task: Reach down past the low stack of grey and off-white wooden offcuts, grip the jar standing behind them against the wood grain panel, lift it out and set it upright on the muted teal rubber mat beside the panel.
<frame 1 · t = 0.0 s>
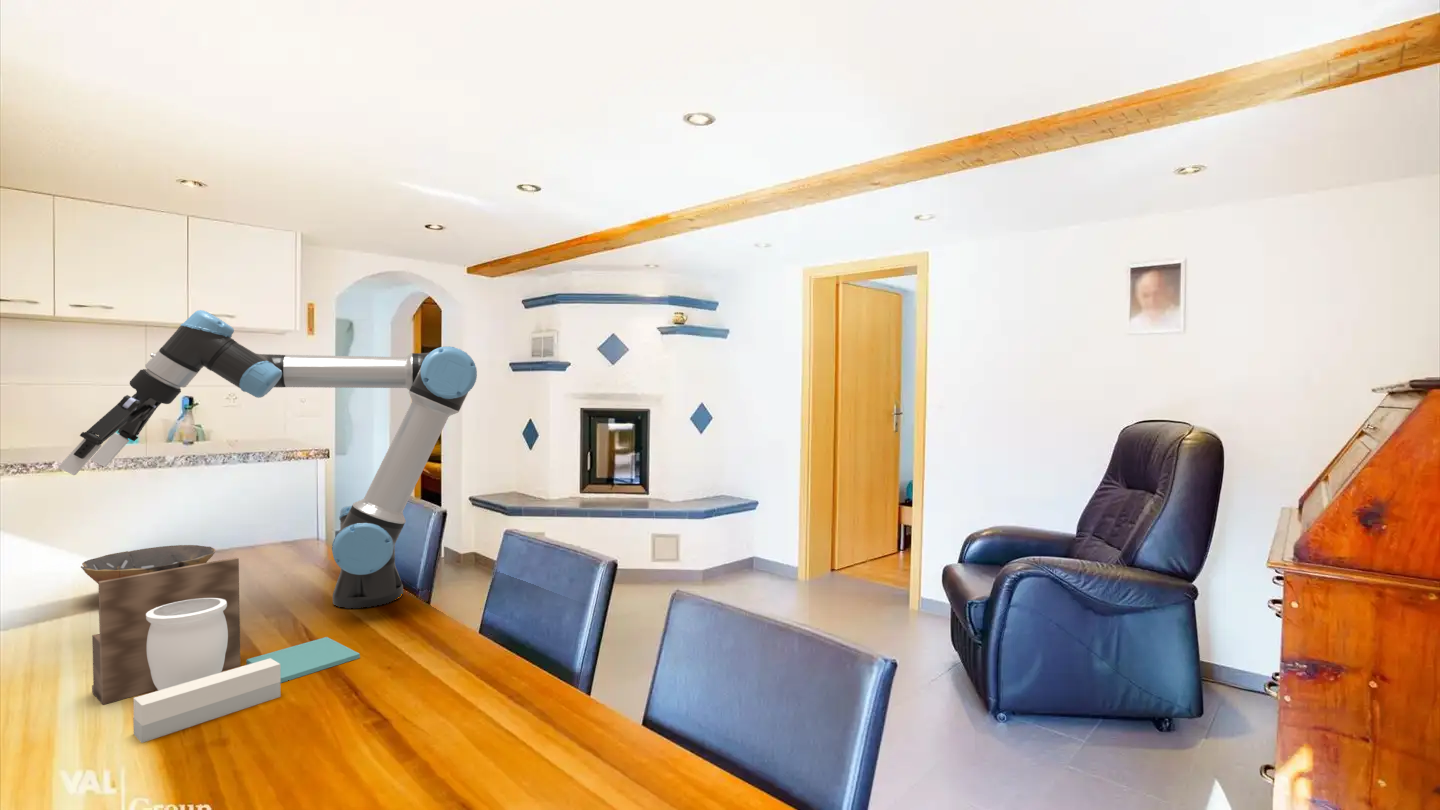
hand: (83, 467, 128), 36 cm above the table, tool tilted 35°, fingers open, 13 cm apart
bowl: (151, 596, 163), on the table
offcut top: (211, 698, 105), point 2 cm above the table, touching offcut low
mat: (303, 660, 125), on the table
wood grain panel: (190, 696, 111), on the table
jar: (189, 696, 111), on the table
offcut low: (211, 717, 105), on the table, touching offcut top
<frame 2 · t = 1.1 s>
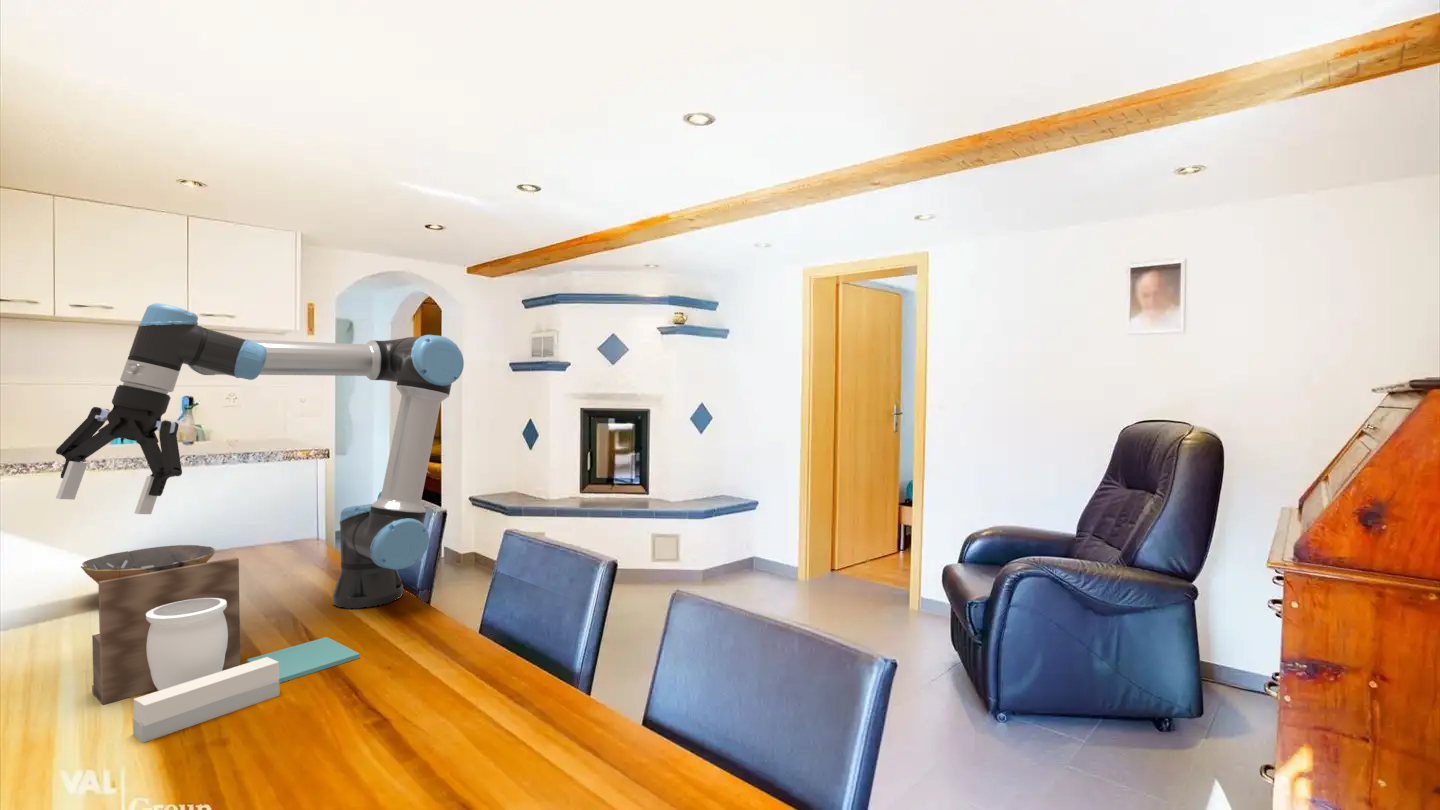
hand: (103, 506, 115), 31 cm above the table, tool tilted 15°, fingers open, 13 cm apart
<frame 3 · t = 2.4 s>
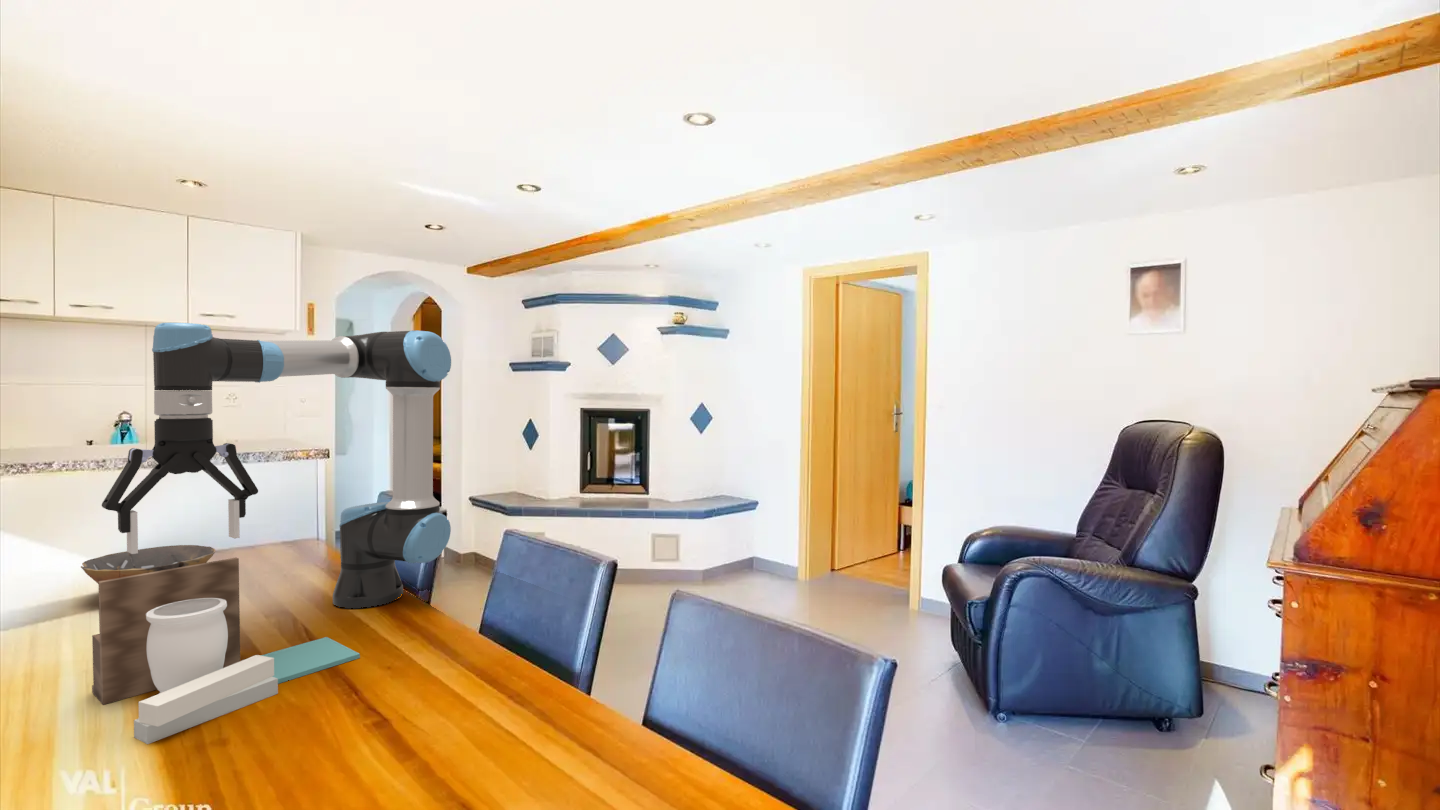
hand: (185, 544, 111), 25 cm above the table, tool pointing down, fingers open, 13 cm apart
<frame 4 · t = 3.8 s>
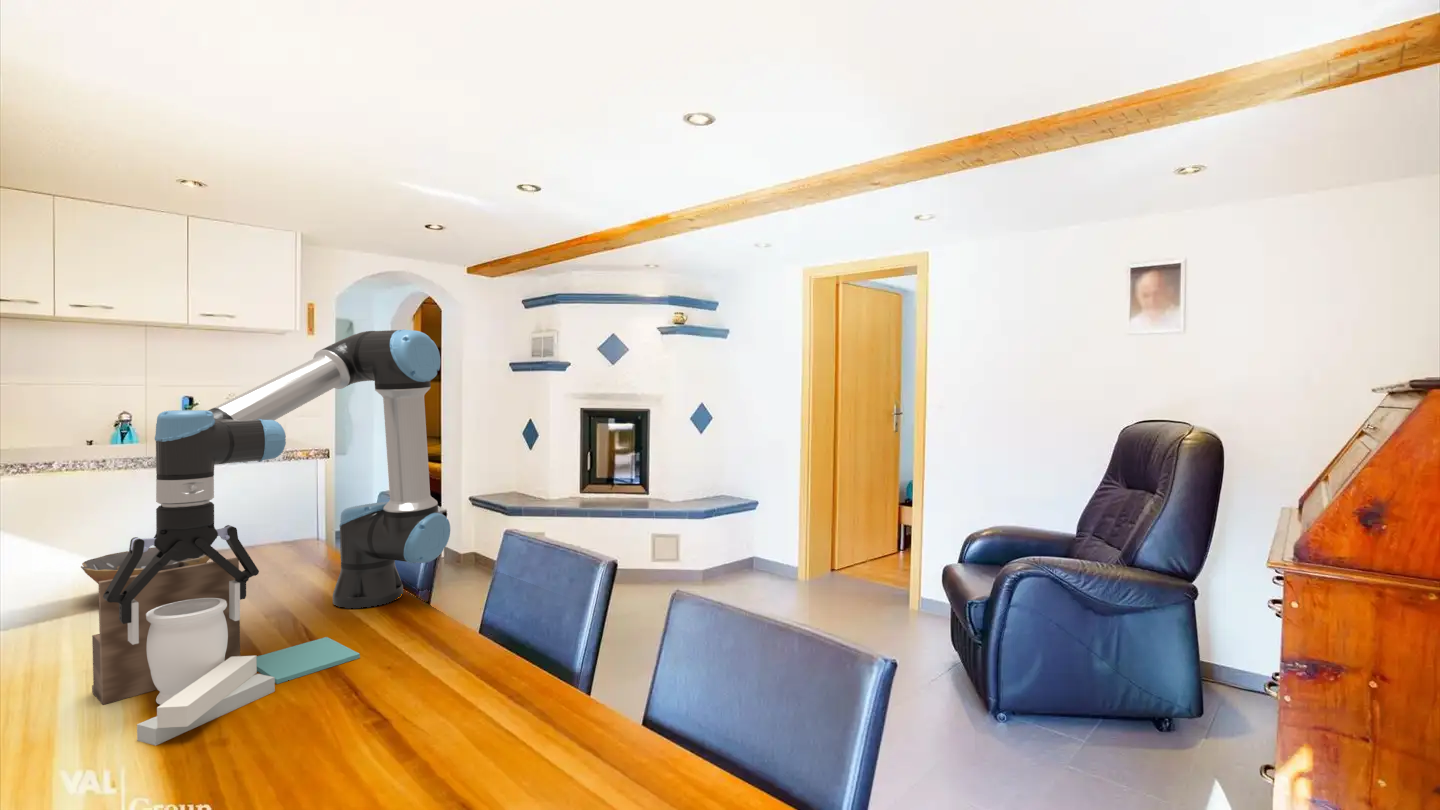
hand: (186, 630, 111), 11 cm above the table, tool pointing down, fingers open, 13 cm apart
offcut top: (211, 697, 105), point 2 cm above the table
offcut low: (211, 717, 105), on the table
everything else where it was.
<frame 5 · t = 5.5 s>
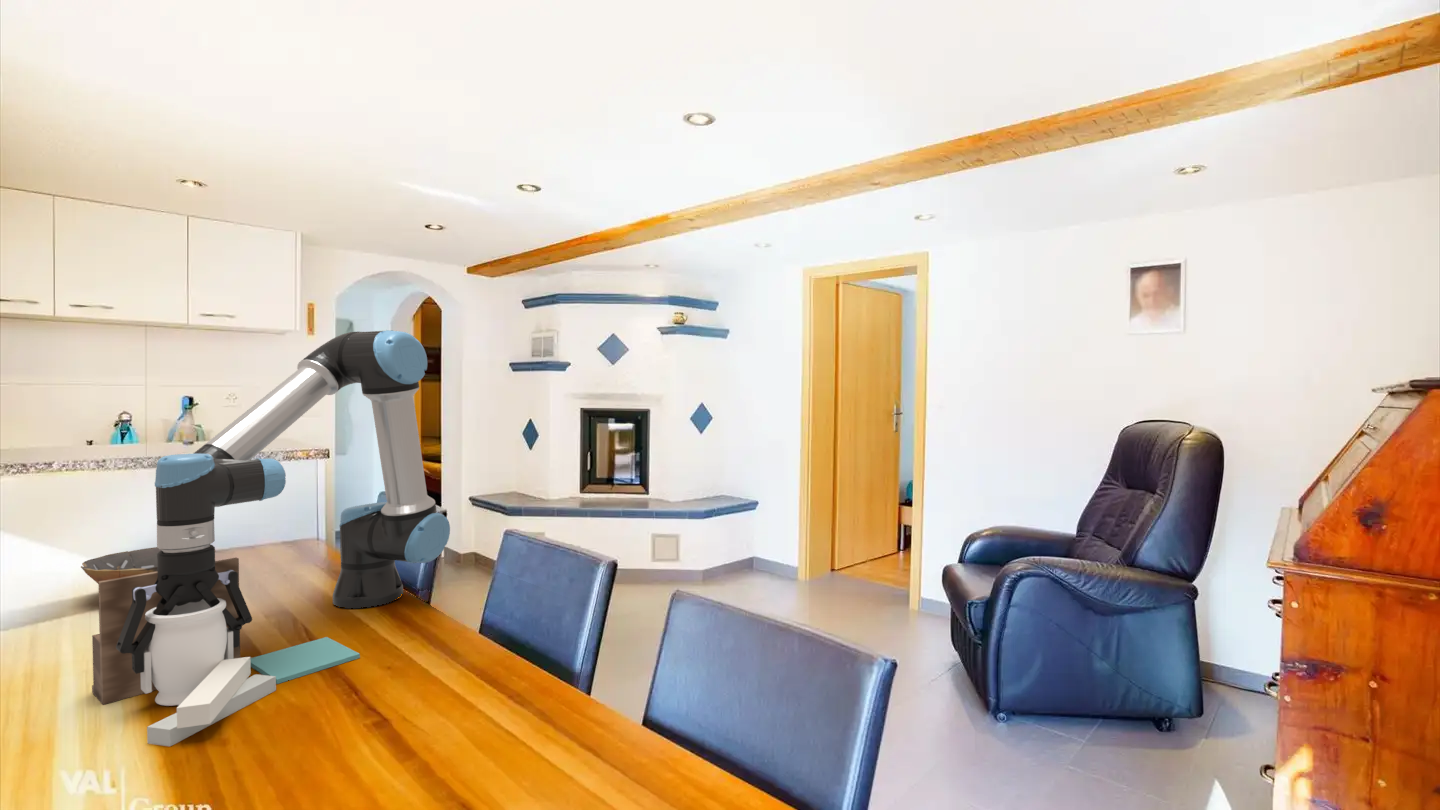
hand: (188, 678, 111), 3 cm above the table, tool pointing down, fingers closed on jar, 10 cm apart
offcut top: (217, 698, 105), point 2 cm above the table, touching offcut low
jar: (188, 696, 111), on the table, touching gripper
offcut low: (216, 718, 105), on the table, touching offcut top
everything else where it was.
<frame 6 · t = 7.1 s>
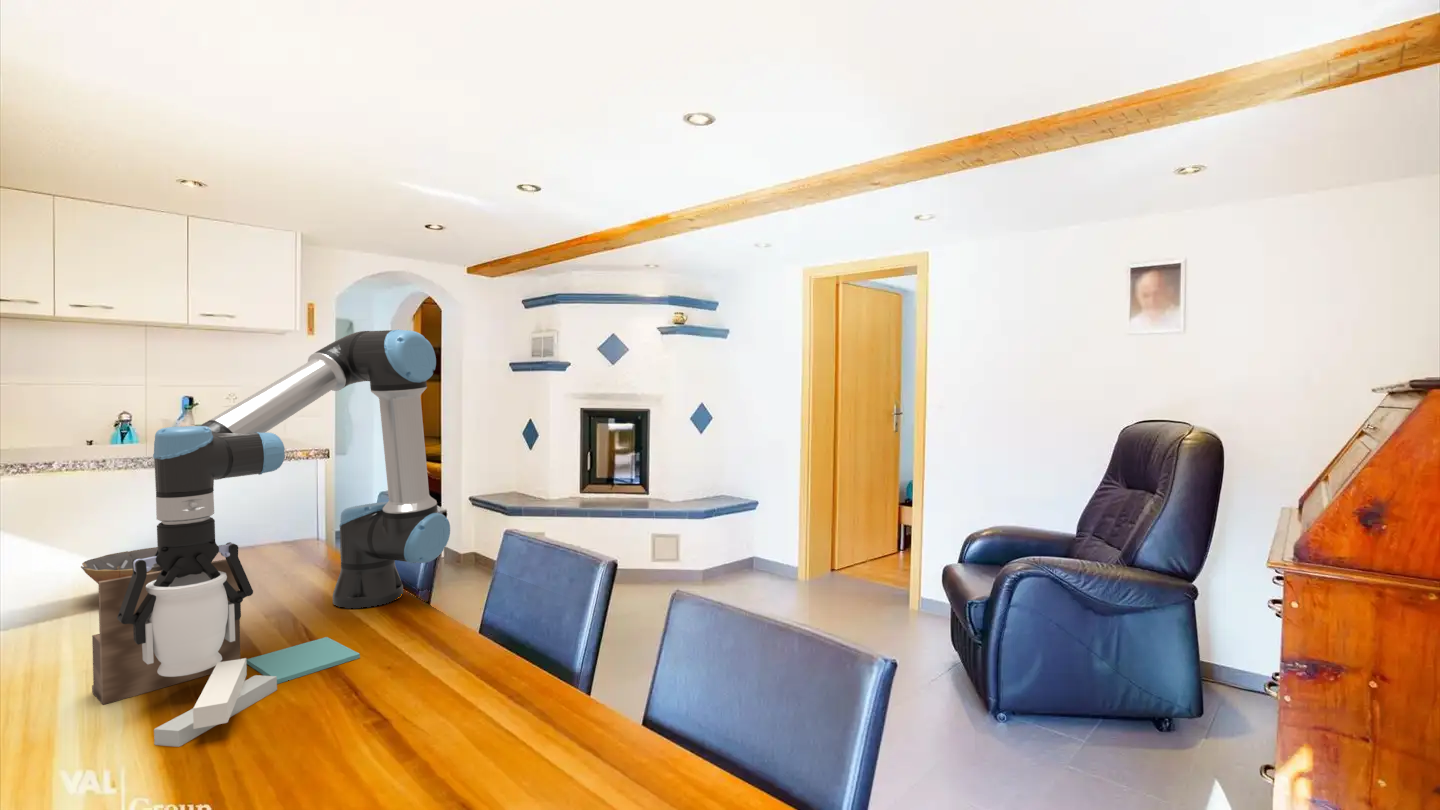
hand: (190, 650, 111), 7 cm above the table, tool pointing down, fingers closed on jar, 10 cm apart
jar: (190, 668, 112), point 4 cm above the table, touching gripper
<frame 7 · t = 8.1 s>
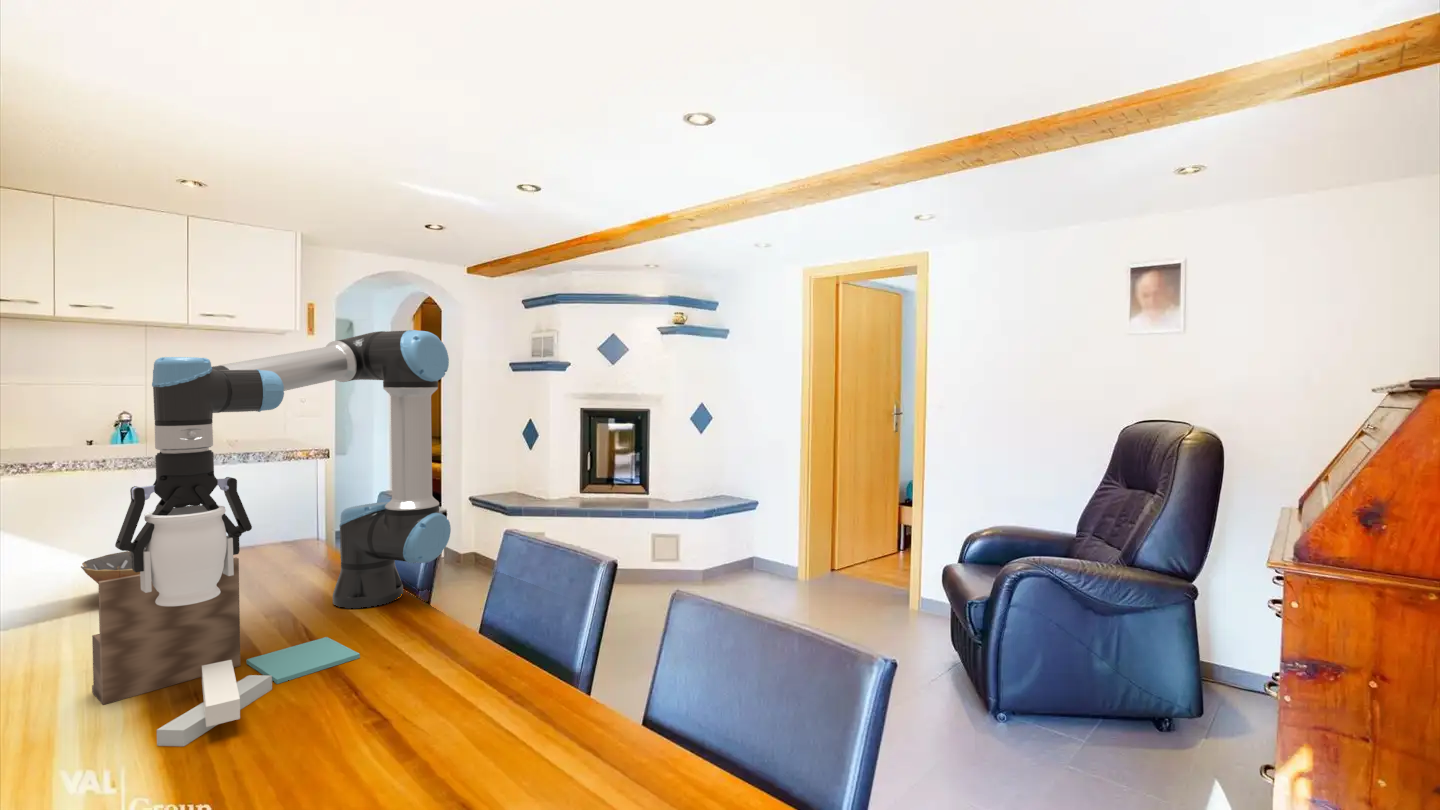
hand: (188, 582, 111), 19 cm above the table, tool pointing down, fingers closed on jar, 10 cm apart
jar: (188, 600, 111), point 16 cm above the table, touching gripper
when the fingers open (5 cm above the table, at t = 14.6 s): jar drops 1 cm, resting on mat.
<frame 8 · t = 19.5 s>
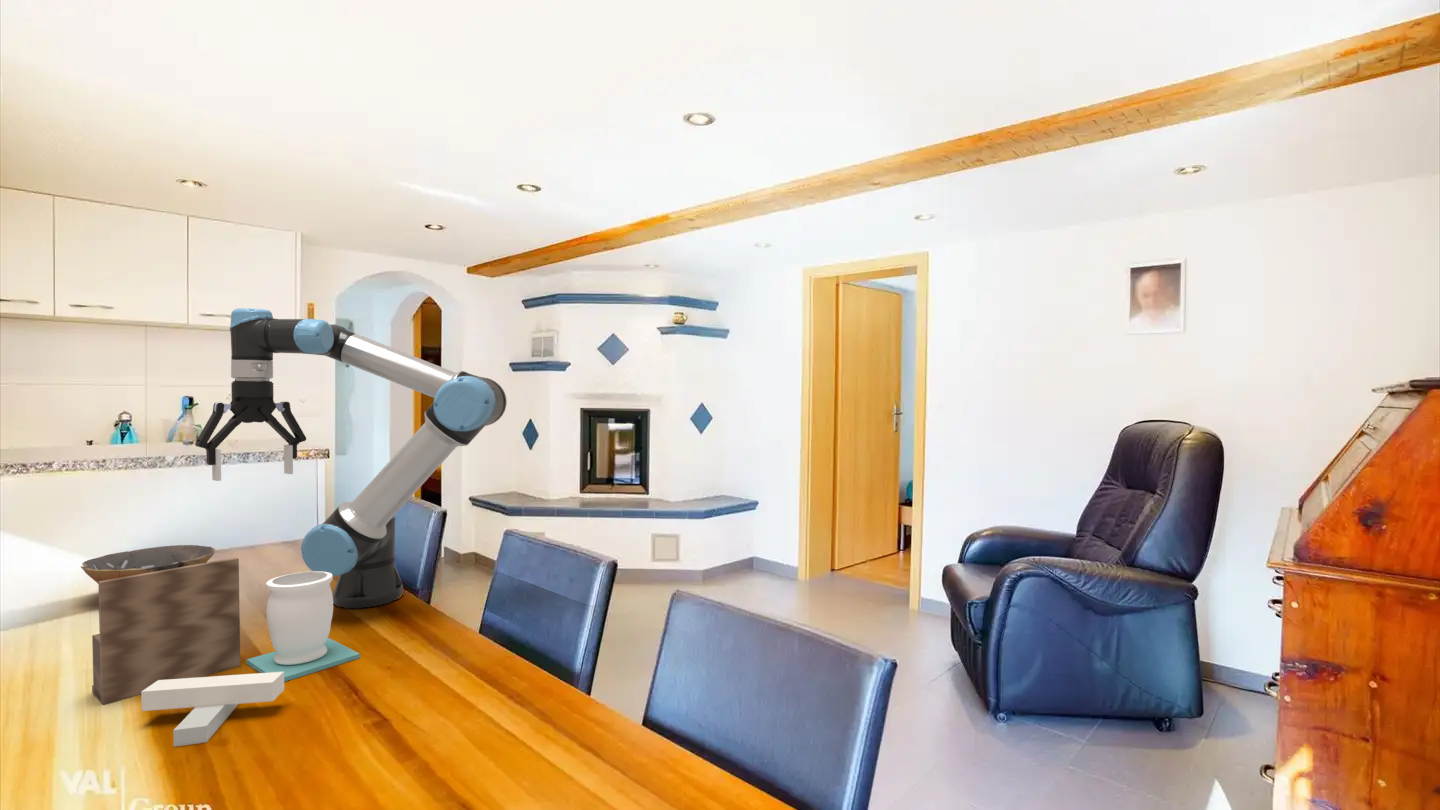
hand: (254, 477, 146), 32 cm above the table, tool pointing down, fingers open, 13 cm apart
jar: (301, 658, 125), point 1 cm above the table, touching mat
at the end: jar inside the target area on the mat (0.4 cm from its centre), point 0.6 cm above the mat's base; jar tilted 0°; offcut top moved 1.2 cm from its start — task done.
